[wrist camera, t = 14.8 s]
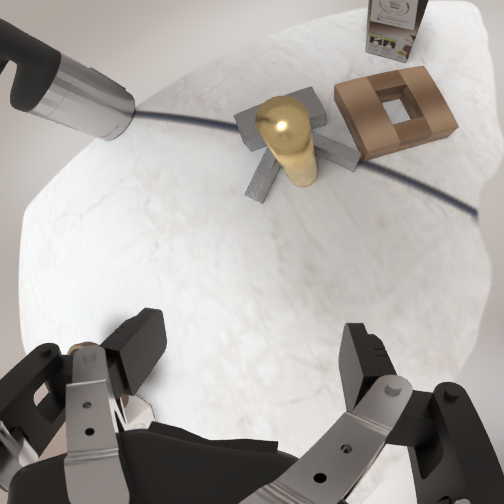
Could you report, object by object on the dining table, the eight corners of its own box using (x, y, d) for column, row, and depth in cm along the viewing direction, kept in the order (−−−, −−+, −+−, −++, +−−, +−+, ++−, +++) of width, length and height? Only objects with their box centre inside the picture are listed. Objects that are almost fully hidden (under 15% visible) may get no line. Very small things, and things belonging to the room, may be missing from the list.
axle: (283, 164, 33) (248, 107, 17) (310, 154, 32) (296, 89, 16) (293, 191, 33) (265, 150, 17) (321, 181, 32) (317, 132, 16)
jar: (161, 434, 40) (124, 471, 29) (127, 424, 42) (89, 454, 31) (149, 394, 40) (105, 429, 28) (114, 386, 42) (70, 413, 30)
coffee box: (407, 64, 27) (434, -12, 12) (364, 52, 29) (372, -30, 13) (406, 25, 27) (423, -45, 11) (367, 15, 28) (370, -59, 12)
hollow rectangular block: (334, 100, 31) (334, 84, 27) (416, 80, 27) (423, 65, 24) (363, 161, 30) (367, 151, 27) (447, 137, 27) (458, 127, 23)
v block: (229, 131, 34) (219, 121, 31) (326, 95, 31) (326, 82, 28) (255, 206, 34) (247, 203, 31) (361, 169, 31) (364, 162, 27)
